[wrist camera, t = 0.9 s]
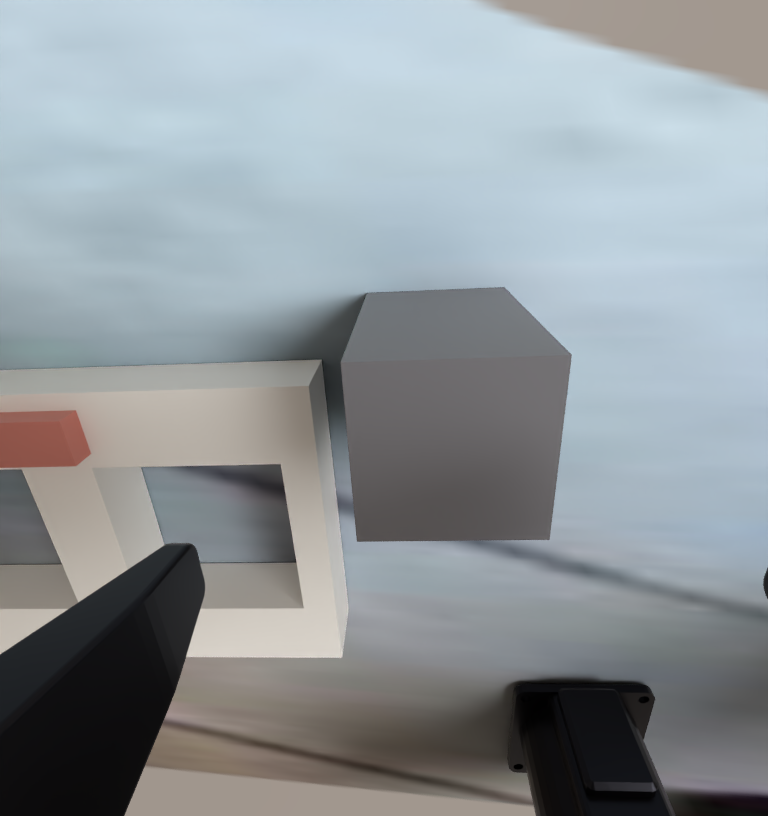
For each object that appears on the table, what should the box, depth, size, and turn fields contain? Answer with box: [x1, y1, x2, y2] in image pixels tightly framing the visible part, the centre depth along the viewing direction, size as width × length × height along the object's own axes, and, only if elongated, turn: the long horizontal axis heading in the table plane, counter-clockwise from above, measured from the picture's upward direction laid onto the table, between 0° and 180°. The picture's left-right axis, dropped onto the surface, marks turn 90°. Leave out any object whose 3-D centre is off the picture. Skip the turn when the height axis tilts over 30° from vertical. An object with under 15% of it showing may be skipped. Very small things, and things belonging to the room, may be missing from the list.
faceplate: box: [0, 359, 349, 658], centre depth 18 cm, size 12×18×3 cm, turn 93°
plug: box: [341, 287, 572, 542], centre depth 13 cm, size 4×4×7 cm
